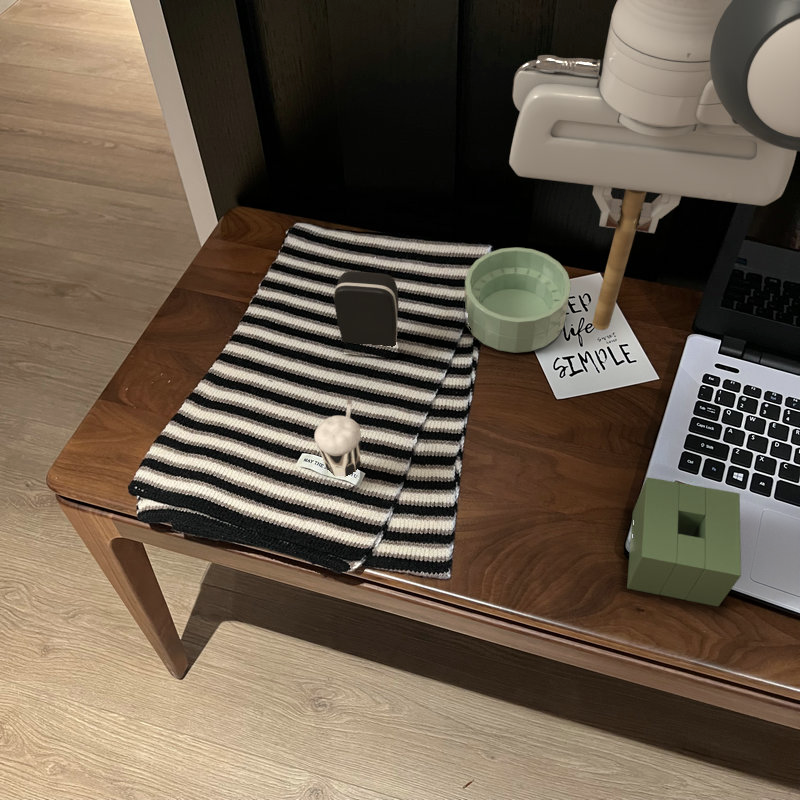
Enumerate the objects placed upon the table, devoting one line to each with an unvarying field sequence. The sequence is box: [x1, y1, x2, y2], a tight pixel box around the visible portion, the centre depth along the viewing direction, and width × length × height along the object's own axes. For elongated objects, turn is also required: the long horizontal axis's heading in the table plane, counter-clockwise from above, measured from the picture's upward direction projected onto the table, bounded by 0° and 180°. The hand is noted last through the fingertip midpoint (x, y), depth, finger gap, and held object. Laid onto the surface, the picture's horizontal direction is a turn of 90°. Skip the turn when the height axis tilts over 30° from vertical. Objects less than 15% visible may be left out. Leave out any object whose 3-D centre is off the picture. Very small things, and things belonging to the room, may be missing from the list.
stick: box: [592, 189, 647, 331], centre depth 67 cm, size 2×2×16 cm
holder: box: [626, 476, 742, 607], centre depth 73 cm, size 8×8×7 cm
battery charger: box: [333, 270, 399, 347], centre depth 90 cm, size 7×4×11 cm, turn 81°
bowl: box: [463, 247, 572, 354], centre depth 93 cm, size 12×12×6 cm
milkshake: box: [314, 399, 362, 477], centre depth 79 cm, size 5×5×10 cm
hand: (627, 225), depth 64 cm, fingers closed on stick, 1 cm apart
